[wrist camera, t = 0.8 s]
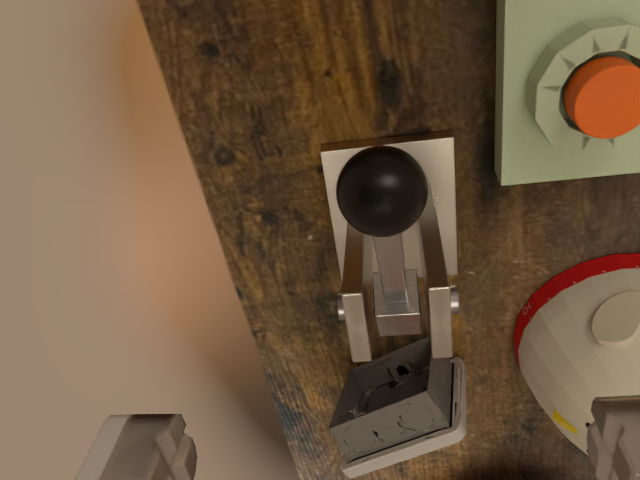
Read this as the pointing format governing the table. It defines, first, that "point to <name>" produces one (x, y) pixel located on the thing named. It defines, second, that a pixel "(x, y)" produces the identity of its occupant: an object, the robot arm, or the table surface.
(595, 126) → the button
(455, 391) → the electrical switch
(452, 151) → the switch bracket
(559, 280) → the kitchen timer
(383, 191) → the switch lever
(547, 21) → the control block
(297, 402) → the table surface
